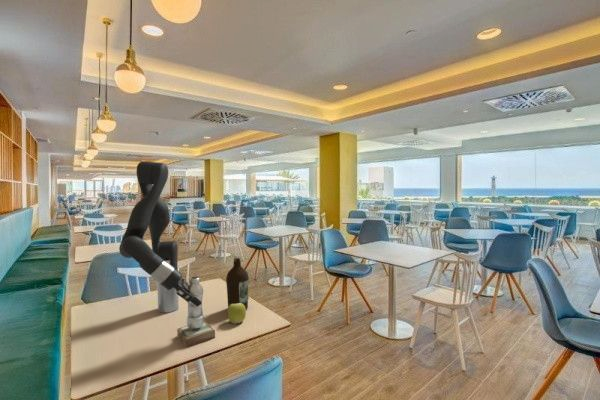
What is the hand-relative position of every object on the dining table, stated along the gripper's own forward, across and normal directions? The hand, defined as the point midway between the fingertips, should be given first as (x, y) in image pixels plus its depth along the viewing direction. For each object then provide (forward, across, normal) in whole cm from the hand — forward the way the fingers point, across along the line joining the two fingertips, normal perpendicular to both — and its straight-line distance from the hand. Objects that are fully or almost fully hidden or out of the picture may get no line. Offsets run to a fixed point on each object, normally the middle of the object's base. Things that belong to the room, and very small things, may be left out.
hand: (199, 301), depth 123 cm
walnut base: (+9, 0, +11) cm, 14 cm away
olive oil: (+23, +22, -3) cm, 32 cm away
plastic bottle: (+6, 0, +9) cm, 11 cm away
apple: (+21, +8, -1) cm, 23 cm away
